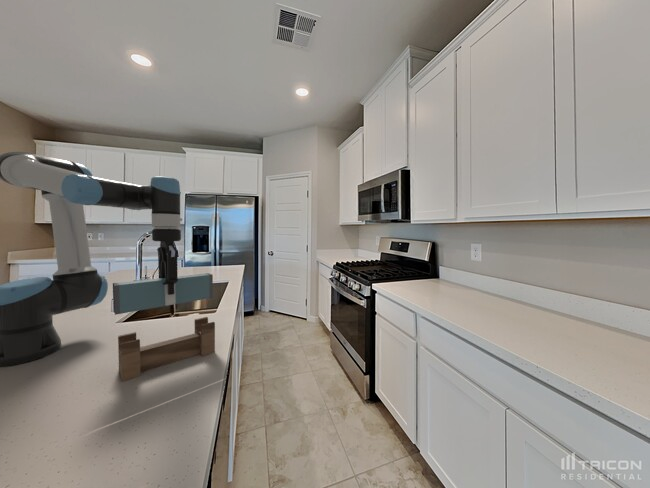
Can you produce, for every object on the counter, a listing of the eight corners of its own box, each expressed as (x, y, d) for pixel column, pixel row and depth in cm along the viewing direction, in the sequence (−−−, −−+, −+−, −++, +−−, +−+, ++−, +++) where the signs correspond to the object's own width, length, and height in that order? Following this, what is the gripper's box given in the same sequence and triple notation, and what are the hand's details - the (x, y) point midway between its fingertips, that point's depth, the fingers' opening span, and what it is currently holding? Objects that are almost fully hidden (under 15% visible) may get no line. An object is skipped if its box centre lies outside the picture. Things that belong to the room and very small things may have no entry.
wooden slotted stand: (118, 370, 71) (118, 335, 71) (206, 344, 88) (206, 316, 88) (121, 381, 66) (121, 344, 66) (214, 352, 83) (214, 322, 82)
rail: (113, 311, 71) (112, 283, 71) (208, 295, 90) (208, 273, 89) (115, 314, 68) (114, 285, 68) (212, 297, 87) (212, 274, 86)
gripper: (189, 228, 74) (190, 306, 76) (172, 228, 86) (174, 295, 88) (159, 228, 69) (161, 311, 70) (146, 228, 81) (148, 299, 82)
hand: (168, 302), depth 79 cm, fingers closed on rail, 4 cm apart
